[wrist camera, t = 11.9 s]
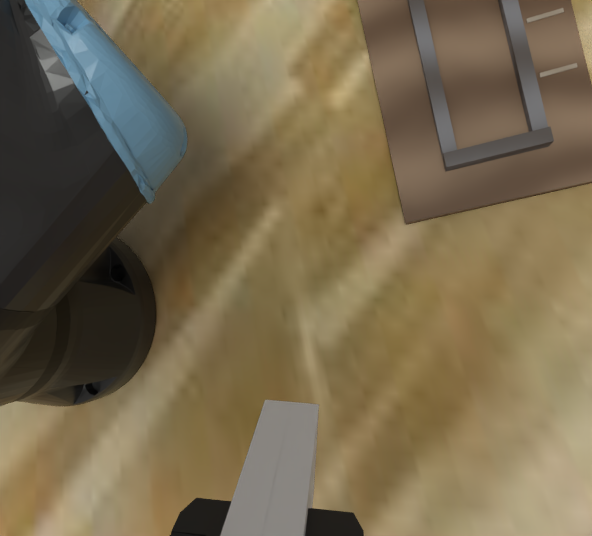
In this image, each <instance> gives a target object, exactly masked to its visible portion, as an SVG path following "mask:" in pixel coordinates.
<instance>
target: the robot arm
mask: <svg viewBox="0 0 592 536" xmlns="http://www.w3.org/2000/svg"><path fill="white" fill-rule="evenodd" d="M186 148H187V132H186V128H185V125H184V123H183V121H182V120H181V118H180V117H179V116H178V114H177V113H176V112H175V111H174V109H173V108H172V107H171V106H170V105H169V103H168V102H167V101H166V100H165V99H164V98H163V97H162V95H161V94H160V93H159V92H158V91H157V90H156V89H155V87H154V86H153V85H152V84H151V83H150V82H149V81H148V80H147V78H146V77H145V76H144V75H143V74H142V73H141V72H140V70H139V69H138V68H137V67H136V66H135V65H134V64H133V63H132V61H131V60H130V59H129V58H128V57H127V56H126V55H125V54H124V53H123V52H122V50H121V49H120V48H119V47H118V46H117V45H116V44H115V43H114V42H113V40H112V39H111V38H110V37H109V36H108V35H107V34H106V33H105V31H104V30H103V29H102V28H101V27H100V26H99V25H98V24H97V23H96V21H95V20H94V19H93V18H92V17H91V16H90V15H89V14H88V13H87V11H86V10H85V9H84V8H83V7H82V6H81V5H80V4H79V3H78V2H77V0H0V406H2V405H5V404H8V403H11V402H15V401H20V402H28V403H35V404H43V405H51V406H74V405H80V404H84V403H87V402H90V401H93V400H96V399H99V398H101V397H104V396H106V395H109V394H111V393H113V392H114V391H116V390H117V389H119V388H120V387H122V386H123V385H124V384H125V383H126V382H128V381H129V380H130V379H131V378H132V377H133V375H134V374H135V373H136V372H137V370H138V369H139V368H140V366H141V364H142V363H143V361H144V359H145V357H146V355H147V353H148V351H149V348H150V345H151V342H152V338H153V334H154V329H155V317H156V310H155V300H154V294H153V289H152V286H151V283H150V280H149V277H148V275H147V273H146V271H145V269H144V267H143V265H142V263H141V262H140V260H139V259H138V258H137V256H136V255H135V254H134V253H133V251H132V250H131V249H130V248H129V247H128V246H127V245H126V244H124V243H123V242H122V241H121V240H119V239H118V238H116V236H117V235H118V234H119V233H120V232H121V231H122V230H123V228H124V227H125V226H126V225H127V224H128V223H129V222H130V220H131V219H132V218H133V217H134V216H135V215H136V214H137V212H138V211H139V210H140V209H141V208H142V207H143V206H144V204H145V203H146V202H147V203H148V204H151V203H152V202H153V201H154V199H155V192H156V191H157V190H158V188H159V187H160V186H161V185H162V183H163V182H164V181H165V180H166V178H167V177H168V176H169V175H170V173H171V172H172V171H173V170H174V168H175V167H176V166H177V165H178V163H179V162H180V161H181V159H182V158H183V156H184V154H185V152H186ZM318 411H319V404H309V403H298V402H286V401H275V400H265V402H264V405H263V408H262V411H261V414H260V417H259V420H258V423H257V426H256V429H255V432H254V435H253V438H252V441H251V444H250V447H249V450H248V453H247V456H246V459H245V462H244V465H243V468H242V471H241V474H240V477H239V480H238V484H237V487H236V490H235V493H234V496H233V499H232V502H231V501H221V500H212V499H202V498H196V499H195V500H193V501H192V502H191V503H190V504H189V505H188V506H187V507H186V508H185V509H184V510H183V511H181V512H180V514H179V516H178V518H177V521H176V523H175V525H174V527H173V529H172V533H171V535H170V536H364V534H363V529H362V527H361V526H360V524H359V522H358V520H357V519H356V517H355V515H354V513H350V512H341V511H331V510H322V509H313V508H312V504H313V494H314V480H315V463H316V446H317V428H318Z"/></svg>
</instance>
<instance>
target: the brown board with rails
mask: <svg viewBox="0 0 592 536" xmlns="http://www.w3.org/2000/svg"><path fill="white" fill-rule="evenodd" d="M358 5H359V10H360V14H361V19H362V23H363V28H364V33H365V37H366V42H367V47H368V51H369V56H370V61H371V65H372V70H373V75H374V79H375V84H376V88H377V93H378V98H379V102H380V107H381V112H382V116H383V121H384V126H385V130H386V135H387V139H388V144H389V149H390V153H391V158H392V163H393V167H394V172H395V177H396V181H397V186H398V190H399V195H400V200H401V204H402V209H403V214H404V218H405V223H406V224H411V223H415V222H420V221H424V220H429V219H433V218H437V217H442V216H446V215H451V214H455V213H460V212H464V211H469V210H473V209H478V208H482V207H487V206H491V205H495V204H500V203H504V202H509V201H513V200H518V199H522V198H527V197H531V196H536V195H540V194H545V193H549V192H553V191H558V190H562V189H567V188H571V187H576V186H580V185H585V184H589V183H592V85H591V81H590V77H589V73H588V69H587V64H586V60H585V56H584V52H583V48H582V44H581V40H580V36H579V32H578V28H577V24H576V20H575V16H574V12H573V8H572V4H571V0H358Z"/></svg>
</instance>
